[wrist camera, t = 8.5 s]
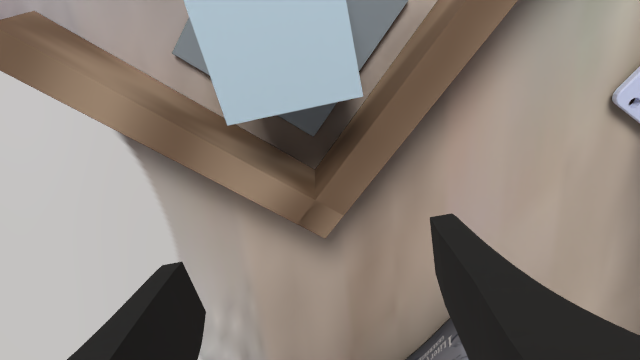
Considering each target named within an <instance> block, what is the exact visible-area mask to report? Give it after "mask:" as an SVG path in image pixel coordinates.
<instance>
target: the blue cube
mask: <svg viewBox="0 0 640 360" xmlns="http://www.w3.org/2000/svg"><path fill="white" fill-rule="evenodd" d="M184 3H185V6H186V9H187V12H188V14H189V17H190V20H191V23H192V26H193V29H194V32H195V34H196V37H197V40H198V43H199V46H200V49H201V52H202V54H203V57H204V60H205V63H206V66H207V69H208V72H209V74H210V77H211V80H212V83H213V86H214V89H215V92H216V94H217V97H218V100H219V103H220V106H221V109H222V112H223V114H224V117H225V120H226V123H227V126H228V125H233V124H238V123H242V122H247V121H251V120H256V119H261V118H265V117H270V116H275V115H279V114H284V113H289V112H293V111H298V110H302V109H307V108H312V107H316V106H321V105H326V104H330V103H335V102H340V101H344V100H349V99H353V98H358V97H363V93H362V87H361V82H360V76H359V70H358V65H357V59H356V53H355V48H354V42H353V37H352V31H351V25H350V20H349V14H348V9H347V3H346V0H184Z"/></svg>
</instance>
